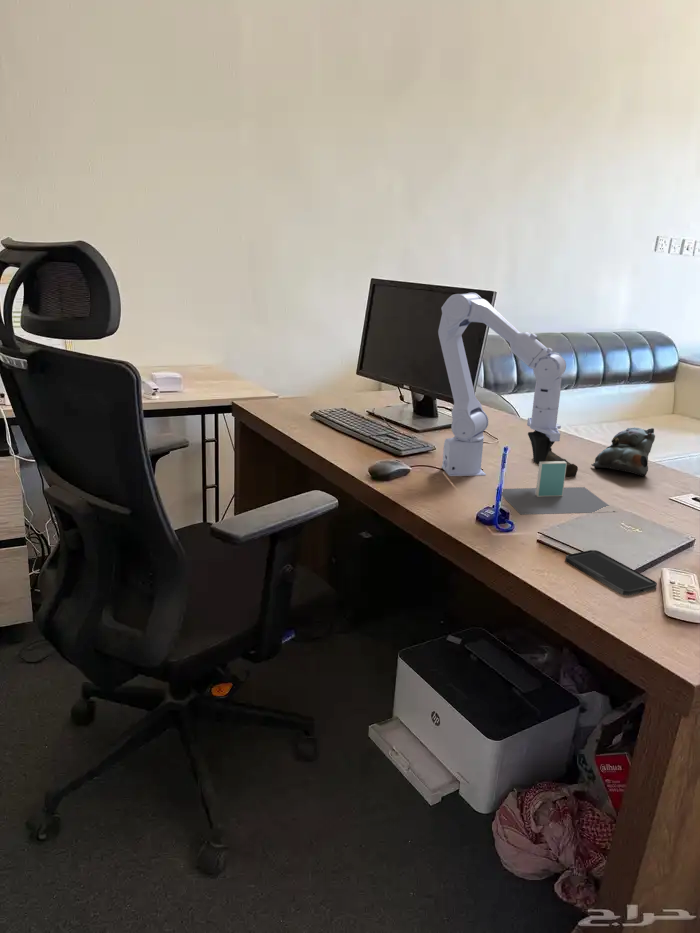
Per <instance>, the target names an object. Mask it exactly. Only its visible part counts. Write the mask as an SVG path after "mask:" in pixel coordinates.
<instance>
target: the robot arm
mask: <svg viewBox="0 0 700 933" xmlns="http://www.w3.org/2000/svg"><path fill="white" fill-rule="evenodd" d="M471 323H482V324H485V326H486V327H488V328H490V329H491V330H492V331H494V332H495V334H497V335H498V336H500V337H501V338H502V339H504V340H505V341H506V342H508V343H509V347H510V352H511V353H512V354H513V355H515V356H516V357H517V358H518V359H520V361H522V362H523V363H524V364H525V365H527V366H528V367H529V368H530V369H532V370H533V375H534V377H535V378H536V379H535V387H534V395H533V403H532V404H533V405H532V411H531V412H532V413H531V417H528V418H527V424H526V426H528V427H529V429H531V430H533V431H529V432H528V433H527V436H528V438H529V441H530V445H531V449H532V457H533V463H535V464H537V465H539V462H545V460H546V458H547V455H548V453H549V450H550V448H551V449H552V447H553V445H554V444H555V442H561V432H560V431H559V430H560V429H561V428H562V426H561V425H560V424H558V423H557V422H558V413H559V404H560V397H561V391H562V390H561V388H562V387H561V386H562V376H563V375H564V373H565V372H566V370H567V363H566V359H565V358H564V357H563V356H562V354H560V353H558V352H553V348H551V347H547V346H545V345H544V344H543V343H542V342H541V341H539V340H538V339H537V338H538V335H537V334H536V333H534V332H532V333H530V331H523V332H522V331H519V330H518V328H516V327H515V326H514V325H513V324H512V323H511V322H509V321H508V320H507V318H505V317H504V316H503V315H502V314H501V313H500V312H499V311H498V310H496V308H495V307H494V306H492V305H491V303H490V302H489V301H488V300H487V299H485V298H482V297H481V296H480V295H479V294H478V293H476V292H468V293H455V294H452V295H450V296H449V297H448V298H447V299H446V301H445V302H444V303H443V305H442V306H441V317H440V321H439V326H438V330H437V333H438V338H439V344H440V346H441V352H442V356H443V359H444V360H443V362H444V364H445V368H446V373H447V377H448V382H449V384H450V389H451V394H452V399H453V406H452V409H451V417H452V420H451V421H452V422H451V426H450V428H451V432H452V434H453V435H454V436H452V437H449V438H445V440H444V443H443V454H442V465H441V468H442V469H443V470H444V472H445V473H446V474H447V475H448V476H449V477H467V476H468V477H469V476H470V477H471V476H473V477H475V476H477V477H478V476H479V477H480V476H487V473H485V472H484V471H483V470H482V460H483V451H484V450H483V449H484V438H485V437H484V431H486V429H487V428H488V426H489V417H488V414H486V412H485V411H484V409H483V406H482V403H481V402H480V401H479V399H477V396H476V393H475V389H474V385H473V381H472V376H471V375H472V374H471V372H470V367H469V364H468V363H469V362H468V358H467V355H466V354H467V353H466V350H465V349H466V348H465V346H464V345H465V344H464V342H463V341H464V340H463V337H462V335H463V334H464V332H465V330H466V329H467V327H468V326H469V325H470V324H471Z"/></svg>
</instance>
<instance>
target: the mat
mask: <svg viewBox="0 0 700 933" xmlns="http://www.w3.org/2000/svg"><path fill="white" fill-rule="evenodd" d="M497 489H498V488H495V491H497ZM502 489H503V492H502V495H501V496H502V498H504V499H505V501H507V502H508V503H509V504H510V505H511V507H513V508H514V510H515V511H516V512H517V513H518V514H519V515H521V516H522V515H523V516H524V515H525V516H527V515H552V514H553V515H554V514H555V515H556V514H558V515H559V514H593V513H592V512H595V511H597V510H599V509H601V508H603V507H606V506H610V505H609V504H608V503H607V502H605V501H604V500H602V499H601V498H600V497H599V496H597V495H596V494H594V493H593V492H592V491H591V490H589V489H588V488H586V487H585V486H583V487H581V486H579V487H577V486H575V487H574V486H573V487H572V486H569V487H564V489H563V496H540V497H538V496H536V487H533V488H532V487H527V488H526V487H525V488H524V487H523V488H518V487H517V488H502Z"/></svg>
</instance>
